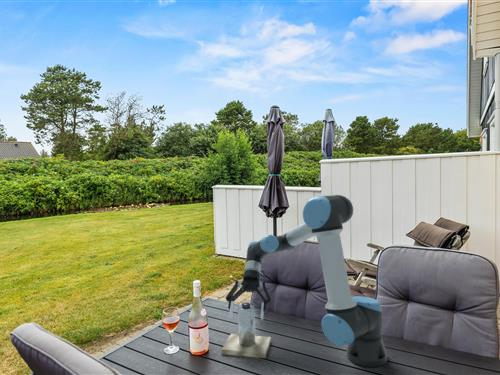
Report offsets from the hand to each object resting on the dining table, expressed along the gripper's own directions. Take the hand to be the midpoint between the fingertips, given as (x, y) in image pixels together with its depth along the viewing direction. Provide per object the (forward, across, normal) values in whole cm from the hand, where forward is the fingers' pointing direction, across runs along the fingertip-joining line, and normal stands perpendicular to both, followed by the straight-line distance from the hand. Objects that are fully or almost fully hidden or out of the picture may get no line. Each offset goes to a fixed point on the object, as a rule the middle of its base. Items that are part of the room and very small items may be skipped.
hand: (245, 317), depth 145 cm
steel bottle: (+8, 0, -7) cm, 10 cm away
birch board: (+9, 0, -8) cm, 12 cm away
